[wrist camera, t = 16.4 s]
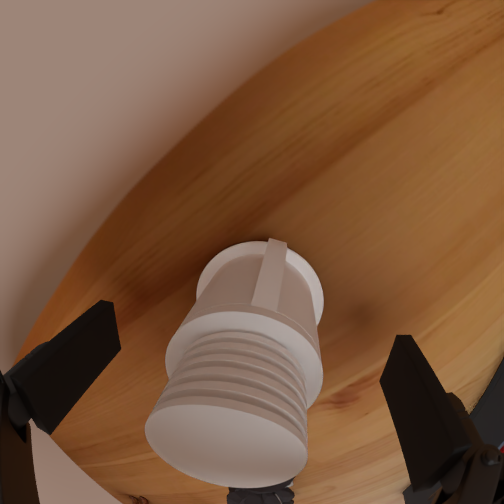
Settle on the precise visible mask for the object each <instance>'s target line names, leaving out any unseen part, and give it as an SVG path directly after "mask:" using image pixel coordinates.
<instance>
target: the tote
mask: <svg viewBox="0 0 504 504" xmlns="http://www.w3.org/2000/svg"><path fill="white" fill-rule="evenodd" d="M469 418H471V420H472V421H473V423H474V425H475V427H476V429H477V431H478V433H479V435H480V437H481V438H482V440H483V442H484V444H491V445H494V446H496V447H497V448H498V449H499V450H500V449H501V448H502V446H503V445H504V359H503V361H502V363H501V365H500V366H499V368H498V370H497V372H496V374H495V376H494V377H493V379H492V381H491V383H490V384H489V386H488V388H487V389H486V391H485V393H484V394H483V396H482V398H481V399H480V401H479V402H478V404H477V405H476V407H475V408H474V410H473V411H472V413H471V414H470V416H469ZM440 487H441V483H440V480H439V481H438V482H437V483H436V484H435V485H434V486H433V487H432V488H431V489H427V490H423V491H419V492H415V493H413V489H412V485H410V486H409V487H408V488H407V489H406V490H405V491H404V492H403V495H404V500H405V504H431V503H432V501H433V499H434V498H433V499H431V500H430V501H427V500H428V498H429V497H430V496H431V495H432V494H434V493H435V492H436V491H437V490H438V489H439V488H440Z"/></svg>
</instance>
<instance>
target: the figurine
mask: <svg viewBox="0 0 504 504" xmlns="http://www.w3.org/2000/svg"><path fill="white" fill-rule="evenodd" d="M293 479H294V477H293V478H291V479H289V480H287V481H285V482H282V483H279V484H276V485H272V486H267V487H259V488H235V487H229V494H228V495H227V504H294V501H293V500H292V499H293V498H294V492H293V491H292V490H290V489H289V488H288V487H290V486H292V485H293Z"/></svg>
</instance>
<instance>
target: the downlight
mask: <svg viewBox="0 0 504 504" xmlns="http://www.w3.org/2000/svg"><path fill="white" fill-rule="evenodd" d="M196 300H197V301H196V303H195V304H194V306H193V307H192V309H191V310H190V312H189V313H188V315H187V316H186V318H185V319H184V321H183V322H182V324H181V325H180V327H179V328H178V330H177V331H176V333H175V334H174V336H173V337H172V339H171V340H170V342H169V345H168V347H167V350H166V356H165V365H166V371H167V375H168V378H169V381H168V383H167V385H166V386H165V388H164V390H163V392H162V394H161V396H160V398H159V399H158V401H157V403H156V405H155V407H154V409H153V411H152V412H151V414H150V416H149V418H148V420H147V422H146V424H145V435H146V438H147V441H148V443H149V444H150V446H151V447H152V449H153V450H154V451H155V452H156V453H157V454H158V455H159V456H160V457H161V458H162V459H163V460H164V461H165V462H167V463H168V464H169V465H171V466H172V467H174V468H175V469H177V470H179V471H181V472H183V473H185V474H187V475H189V476H191V477H194V478H196V479H199V480H202V481H205V482H208V483H212V484H216V485H221V486H226V487H235V488H259V487H267V486H272V485H276V484H279V483H282V482H285V481H287V480H289V479H291V478H293V477H295V476H296V475H297V474H299V473H300V472H301V471H302V470H303V468H304V467H305V465H306V463H307V458H308V448H307V409H308V408H309V407H310V406H311V405H312V404H313V403H314V401H315V400H316V398H317V397H318V395H319V393H320V390H321V387H322V383H323V369H322V362H321V354H320V347H319V339H318V333H317V325H318V323H319V321H320V319H321V316H322V312H323V304H324V298H323V291H322V287H321V284H320V281H319V279H318V276H317V274H316V273H315V271H314V270H313V268H312V267H311V266H310V264H309V263H308V262H307V261H306V260H305V259H304V258H302V257H301V256H300V255H299V254H297V253H296V252H294V251H292V250H291V249H289V248H287V243H286V242H282V241H279V240H275V239H271V238H269V240H268V242H264V241H251V242H244V243H240V244H236V245H233V246H231V247H229V248H227V249H225V250H223V251H222V252H220V253H219V254H217V255H216V256H215V257H214V258H213V259H212V260H211V261H210V262H209V263H208V265H207V266H206V267H205V269H204V270H203V272H202V274H201V276H200V279H199V281H198V285H197V292H196Z"/></svg>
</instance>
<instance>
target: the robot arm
mask: <svg viewBox="0 0 504 504" xmlns="http://www.w3.org/2000/svg"><path fill="white" fill-rule="evenodd" d="M120 350H121V345H120V340H119V335H118V329H117V323H116V317H115V311H114V304H113V302H109V301H104V300H100V301H99V302H97V303H96V304H95V305H94V306H92V307H91V308H90V309H88V310H87V311H86V312H85V313H83V314H82V315H81V316H80V317H78V318H77V319H76V320H75V321H73V322H72V323H71V324H70V325H68V326H67V327H66V328H65V329H63V330H62V331H61V332H60V333H59V334H57V335H56V336H55V337H54V338H53V339H51V340H50V341H49V342H48V341H47V342H45V343H43V344H41V345H38V346H37V347H36V348H35V349H33V350H32V351H31V352H30V353H29V354H27V355H26V356H25V358H23V359H22V360H20V361H19V362H18V363H17V364H16V365H15V366H13V367H12V368H11V369H10V370H9V371H8V372H7V373H6V374H4V375H2V373H1V371H0V504H40V502H39V497H38V491H37V486H36V480H35V473H34V465H33V455H32V444H31V428H30V424H29V422H28V421H29V420H30V419H31V418H32V419H33V421H34V422H35V424H36V426H37V427H38V428H39V429H41V430H43V431H44V432H46V433H47V434H49V435H51V434H52V432H53V431H54V430H55V429H56V427H57V426H58V425H59V424H60V422H61V421H62V420H63V419H64V417H65V416H66V415H67V414H68V412H69V411H70V410H71V409H72V407H73V406H74V405H75V404H76V402H77V401H78V400H79V399H80V398H81V396H82V395H83V394H84V393H85V391H86V390H87V389H88V388H89V387H90V385H91V384H92V383H93V382H94V381H95V379H96V378H97V377H98V376H99V375H100V373H101V372H102V371H103V370H104V369H105V368H106V366H107V365H108V364H109V363H110V362H111V360H112V359H113V358H114V357H115V356H116V355H117V353H118V352H119V351H120ZM380 384H381V387H382V390H383V393H384V396H385V398H386V401H387V404H388V407H389V410H390V413H391V416H392V419H393V422H394V426H395V429H396V432H397V435H398V438H399V442H400V445H401V448H402V452H403V455H404V459H405V462H406V466H407V470H408V473H409V477H410V481H411V485H412V489H413V493H415V492H419V491H423V490H427V489H431V488H432V487H433V486H434V485H435V484H436V483H437V482H438V481H439V480H440V483H441V487H440V488H439V489H438V490H437V491H436V492H435V493H434V494H432V495H431V496H430V497H429V498H428V500H427V501H430V500H431V499H433V498H434V499H433V501H432V503H431V504H504V453H501V451H500V450H499V449H498V448H497V447H496V446H494V445H491V444H484V442H483V440H482V438H481V437H480V435H479V433H478V431H477V429H476V427H475V425H474V423H473V421H472V420H471V418H469V414H468V412H467V411H465V407H464V405H463V404H462V402H461V400H460V399H459V398H458V397H457V396H455V395H454V394H453V393H452V392H451V393H446V392H445V390H444V388H443V387H442V385H441V383H440V382H439V380H438V378H437V376H436V375H435V373H434V371H433V370H432V368H431V366H430V365H429V363H428V361H427V360H426V358H425V356H424V355H423V353H422V352H421V350H420V348H419V347H418V345H417V344H416V342H415V341H414V339H413V338H412V336H411V335H396V338H395V341H394V344H393V347H392V350H391V352H390V355H389V358H388V360H387V363H386V366H385V368H384V371H383V373H382V376H381V378H380Z"/></svg>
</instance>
